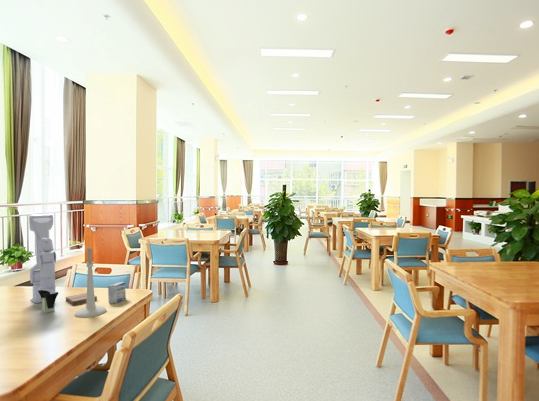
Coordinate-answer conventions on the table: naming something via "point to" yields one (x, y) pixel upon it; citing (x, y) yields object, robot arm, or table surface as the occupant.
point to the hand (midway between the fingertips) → (48, 306)
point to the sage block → (44, 306)
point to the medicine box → (116, 292)
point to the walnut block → (78, 299)
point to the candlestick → (90, 293)
